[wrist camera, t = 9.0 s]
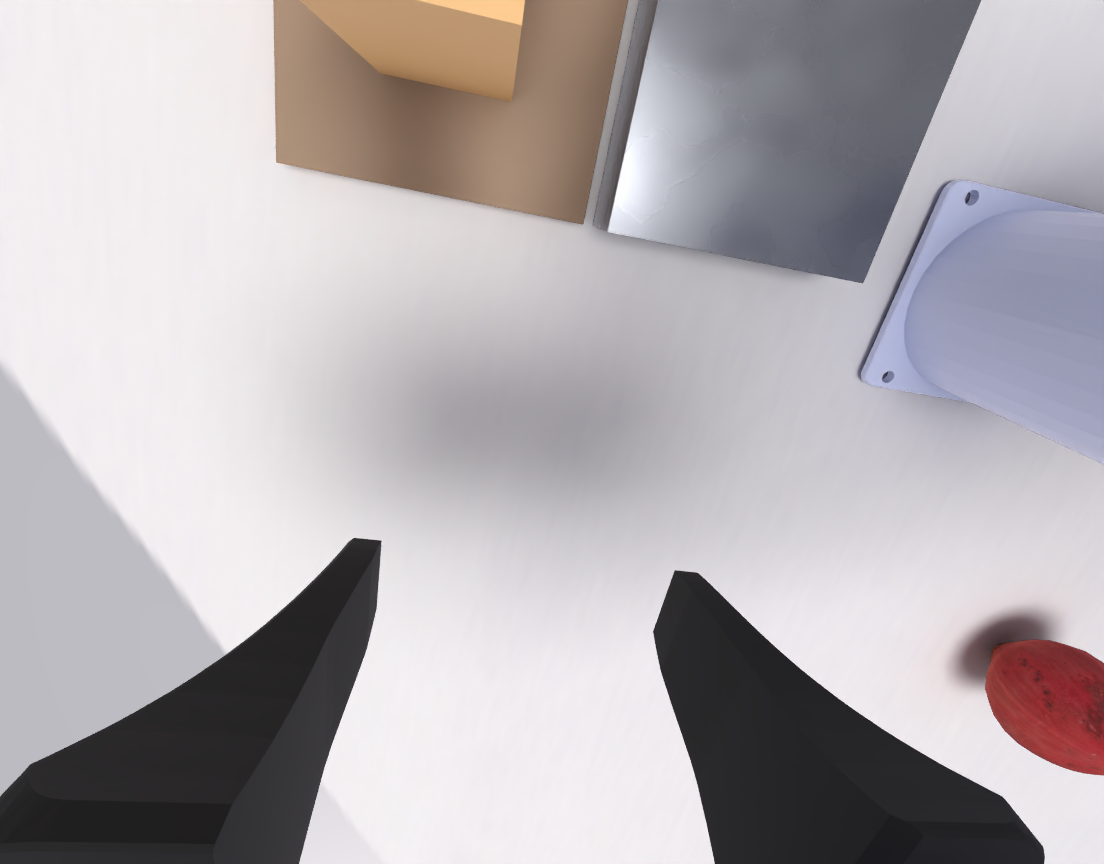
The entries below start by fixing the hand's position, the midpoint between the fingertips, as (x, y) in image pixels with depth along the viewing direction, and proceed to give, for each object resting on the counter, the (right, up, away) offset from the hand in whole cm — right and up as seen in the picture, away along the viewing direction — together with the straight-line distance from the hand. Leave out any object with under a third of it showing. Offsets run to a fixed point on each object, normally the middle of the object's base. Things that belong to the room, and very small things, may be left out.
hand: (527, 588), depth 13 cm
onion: (+27, -9, +18) cm, 33 cm away
